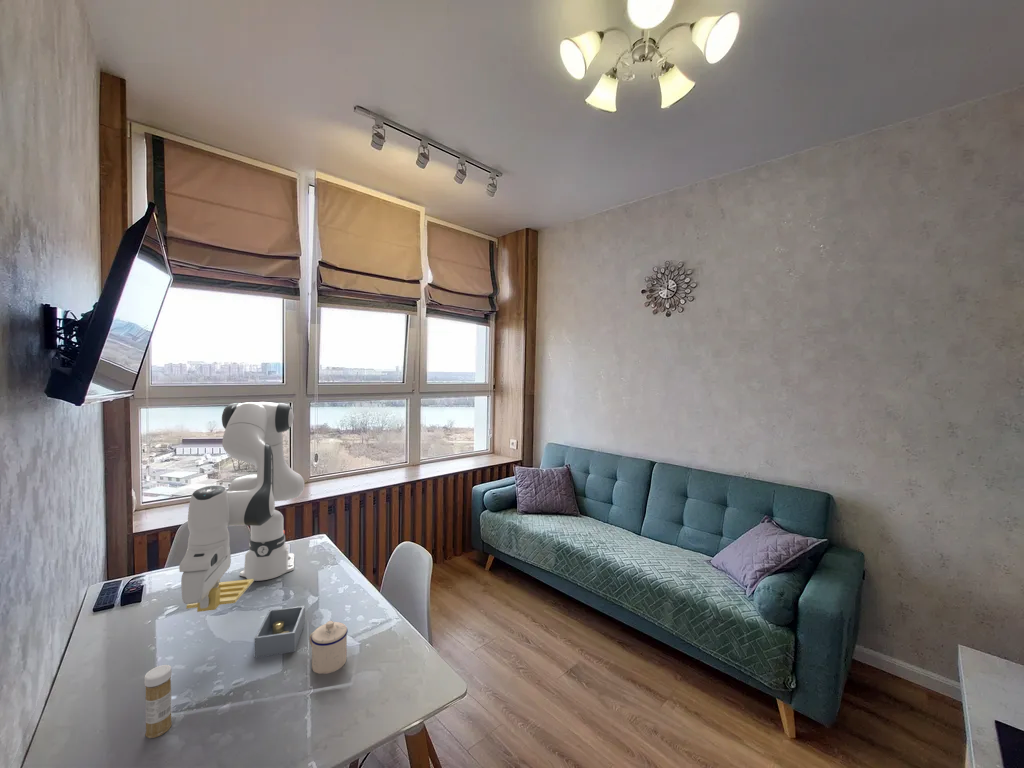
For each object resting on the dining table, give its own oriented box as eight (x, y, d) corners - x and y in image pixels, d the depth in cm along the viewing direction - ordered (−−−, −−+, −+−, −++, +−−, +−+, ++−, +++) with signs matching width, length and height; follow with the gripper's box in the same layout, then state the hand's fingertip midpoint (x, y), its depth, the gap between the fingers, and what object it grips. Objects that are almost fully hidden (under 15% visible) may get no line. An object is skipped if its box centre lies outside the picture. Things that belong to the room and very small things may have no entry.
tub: (269, 629, 128) (269, 610, 128) (304, 624, 131) (304, 605, 130) (254, 659, 114) (254, 638, 114) (294, 653, 117) (294, 632, 117)
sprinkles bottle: (168, 718, 95) (168, 660, 94) (174, 728, 92) (174, 669, 92) (142, 732, 91) (141, 672, 91) (148, 743, 88) (147, 681, 88)
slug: (274, 631, 126) (274, 621, 126) (285, 629, 127) (285, 620, 127) (271, 637, 123) (271, 627, 123) (282, 635, 124) (282, 625, 124)
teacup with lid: (354, 659, 115) (355, 618, 115) (327, 681, 107) (327, 636, 107) (324, 646, 121) (324, 606, 120) (295, 666, 112) (296, 623, 112)
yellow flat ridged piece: (210, 585, 123) (211, 570, 124) (253, 581, 127) (253, 566, 127) (180, 613, 106) (181, 595, 106) (230, 607, 109) (231, 590, 109)
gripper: (211, 535, 118) (211, 583, 118) (175, 568, 98) (175, 626, 99) (237, 533, 120) (237, 581, 120) (206, 566, 100) (206, 622, 100)
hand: (209, 602), depth 109 cm, fingers closed on yellow flat ridged piece, 3 cm apart
